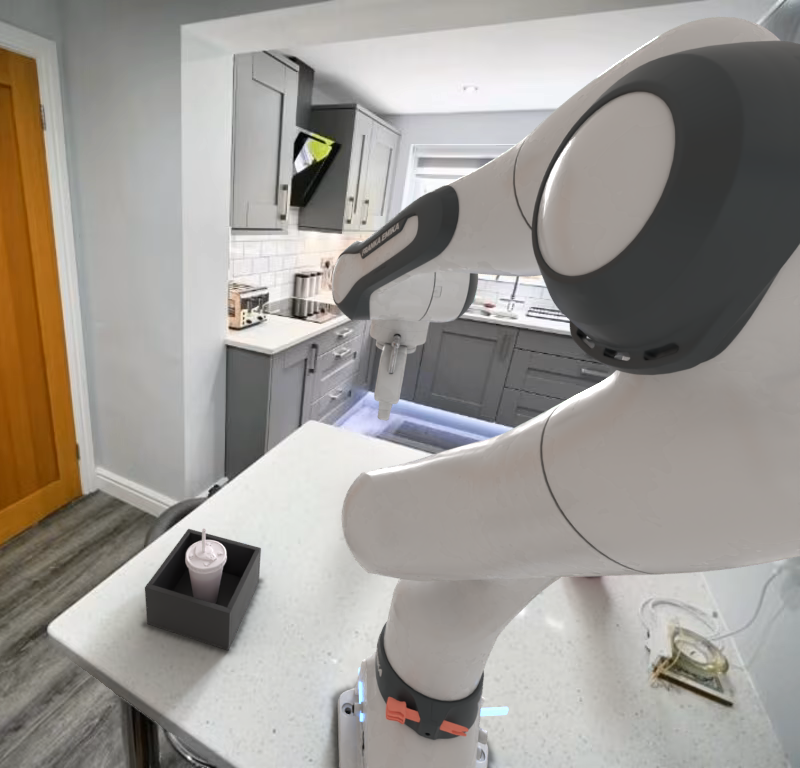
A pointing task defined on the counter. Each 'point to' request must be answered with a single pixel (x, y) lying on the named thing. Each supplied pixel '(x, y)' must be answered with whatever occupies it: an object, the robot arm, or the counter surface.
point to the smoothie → (206, 568)
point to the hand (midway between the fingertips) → (385, 406)
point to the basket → (198, 618)
